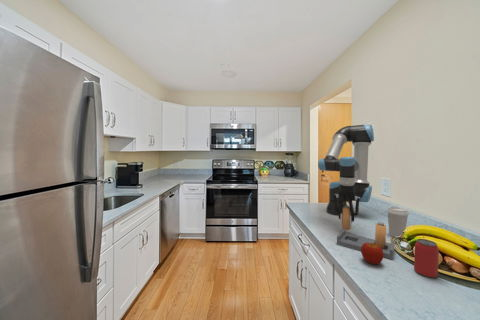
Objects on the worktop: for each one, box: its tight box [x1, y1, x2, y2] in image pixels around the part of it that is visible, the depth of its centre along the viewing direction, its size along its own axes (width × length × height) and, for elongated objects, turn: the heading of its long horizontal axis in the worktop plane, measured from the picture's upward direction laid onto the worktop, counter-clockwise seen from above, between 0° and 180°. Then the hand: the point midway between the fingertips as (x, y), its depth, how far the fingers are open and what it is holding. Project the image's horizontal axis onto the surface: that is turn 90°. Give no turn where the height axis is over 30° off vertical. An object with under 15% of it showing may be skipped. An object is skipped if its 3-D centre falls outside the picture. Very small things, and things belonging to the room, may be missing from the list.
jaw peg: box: [341, 205, 351, 231], centre depth 113 cm, size 4×4×13 cm
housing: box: [336, 221, 396, 261], centre depth 97 cm, size 13×22×13 cm, turn 50°
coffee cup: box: [386, 206, 410, 238], centre depth 108 cm, size 10×10×15 cm
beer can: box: [413, 238, 440, 279], centre depth 76 cm, size 7×7×12 cm
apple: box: [360, 243, 384, 265], centre depth 83 cm, size 8×8×8 cm
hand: (346, 225), depth 113 cm, fingers closed on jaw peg, 4 cm apart
